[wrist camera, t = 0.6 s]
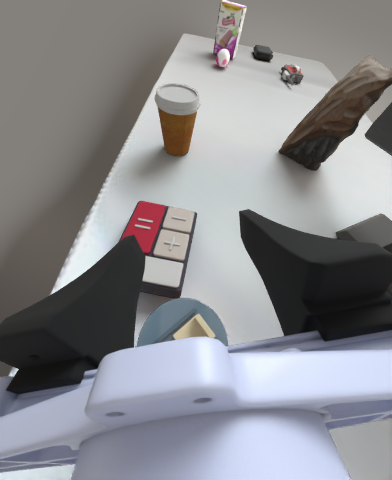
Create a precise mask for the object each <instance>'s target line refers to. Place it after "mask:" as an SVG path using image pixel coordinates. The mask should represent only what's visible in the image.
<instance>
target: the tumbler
mask: <svg viewBox="0 0 392 480" xmlns="http://www.w3.org/2000/svg"><path fill="white" fill-rule="evenodd" d="M198 314H200V316H201V317H202V318H203V320H204V321H205V322H206V324H207V325H208V326H209V328H210V329H211V330H212V332H213V333H214V334H215V337H214V339H218V340H219V341H221V342H222V343H223V344H224V345H225V346H228V340H227V335H226V331H225V329H224V326H223V324H222V322H221V320H220V318H219V317H218V316H217V314H216V313H215V312H214V311H213V310H212V309H211V308H210V307H209V306H207V305H206V304H204V303H202V302H200V301H198V300H195V299H191V298H178V299H173V300H170V301H168V302H166V303H164V304H162V305H161V306H159V307H158V308H157V309H155V310H154V311H153V312H152V314H151V315H150V316H149V317H148V319H147V320H146V322H145V323H144V325H143V327H142V329H141V332H140V335H139V338H138V343H137V347H140V346H145V345H151V344H156V343H162V342H167V341H173V340H175V338H174V337H173V335H174V334H175V333H176V332H177V331H178V330H179V329H181V328H182V327H183V326H184V325H185V324H186V323H187V322H189V321H190V320H191V319H192V318H193V317H194V316H195V315H198Z"/></svg>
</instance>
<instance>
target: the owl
mask: <svg viewBox="0 0 392 480" xmlns="http://www.w3.org/2000/svg"><path fill="white" fill-rule="evenodd" d="M391 84H392V69H386V68H385V67H384V66H381V65H379V64H378V63H377V62H376V59H375V58H374V57H372V56H371V55H368V56H366V57H365V58H364V59H363V60H362V61H361V62H360V63H359V64H358V65H356V66H355V67H354V68H353V69H352V70H351V71H350V72H349V73H348V74H347V75H346V76H345V77H344V78H343V79H341V80H340V81H339V82H338V83H337V84H335V85H334V86H333V87H332V88H331V89H330V91H329V92H328V93H327V94H326V95H325V96H324V97H323V99H322V100H321V101H320V102H319V103H318V104H317V105H316V106H315V107H314V108H313V109H312V110H311V111H310V112H309V113H308V114H307V115H306V116H305V117H304V119H303V120H302V121H301V122H300V123H299V124H298V125H297V127H296V128H295V129H294V131H293V132H292V133H291V134H290V135H289V136H288V138H287V139H286V141H285V142H284V143H283V145H282V147H281V149H280V150H279V151H278V152H280V153H282V154H284V155H286V156H287V157H289V158H291V159H293V160H295V161H296V162H297V163H299V164H302V165H304V166H305V167H306V168H308V169H311V170H317V169H318V168H319V167H320V165H321V163H322V162H324V161H325V160H326V159H327V158H328V157H329V156H330V155H332V154H333V153H334V152H335V150H336V149H337V147H338V145H339V144H340V143H341V142H342V141H343V140H344V139H345V138H346V137H348V136H350V135H352V134H353V133H354V132H355V130H356V128H357V127H358V123H359V120H360V119H361V118H362V116H363V115H364V114H365V113H366V112H367V111H368V110H369V108H370V107H371V106H372V105H373V104H374V103H375V102H376V101H377V100H378V99H379V98H380V96H381V94H382V93H383V92H384V90H385V89H386V88H387V87H388V86H390V85H391Z"/></svg>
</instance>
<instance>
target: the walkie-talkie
mask: <svg viewBox="0 0 392 480" xmlns="http://www.w3.org/2000/svg"><path fill="white" fill-rule="evenodd" d="M281 70H282V74H283V75H282V77H283V79H284V80H287V81H288V82H289V83H291V85H293V82H295V83H300V82H301V80H302V78H303V74H302V73H301V72H300V71H301V69H300V68H299V66H296V65H293V64H291V65H285V66H284V67H282V69H281Z"/></svg>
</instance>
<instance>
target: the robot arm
mask: <svg viewBox="0 0 392 480" xmlns="http://www.w3.org/2000/svg"><path fill="white" fill-rule="evenodd" d="M239 216H240V231H241V238H242V241H243V244H244V246H245V248H246V250H247V252H248V254H249V256H250V258H251V259H252V261H253V263H254V265H255V266H256V268H257V270H258V272H259V274H260V276H261V278H262V280H263V282H264V284H265V287H266V289H267V292H268V294H269V296H270V299H271V301H272V304H273V306H274V309H275V312H276V314H277V317H278V320H279V322H280V325H281V328H282V331H283V333H284V336H283V337H277V338H272V339H266V340H260V341H255V342H249V343H243V344H237V345H232V346H225V345H224V344H223V343H222V342H221V341H219V340H218V339H214V338H210V337H189V338H184V339H178V340H173V341H167V342H162V343H156V344H151V345H145V346H140V347H134V331H135V319H136V310H137V302H138V297H139V293H140V288H141V284H142V280H143V275H144V270H145V259H146V256H145V255H144V253H143V251H142V249H141V247H140V245H139V243H138V241H137V239H136V237H135V235H131V236H126V237H125V238H123V239H122V240H121V241H120V242H119V243H118V244H116V245H115V246H114V247H113V248H112V249H111V250H110V251H109V252H108V253H107V254H106V255H105V256H104V257H102V258H101V259H100V260H99V261H98V262H97V263H96V264H95V265H93V266H92V267H91V268H90V269H88V270H87V271H86V272H85V273H83V274H82V275H81V276H79V277H78V278H76V279H75V280H74V281H72V282H71V283H69V284H67V285H66V286H64V287H63V288H61V289H60V290H58V291H57V292H55V293H53V294H52V295H50V296H48V297H46V298H45V299H43V300H41V301H40V302H37V303H36V304H34V305H32V306H30V307H28V308H26V309H24V310H22V311H20V312H18V313H16V314H14V315H12V316H10V317H8V318H6V319H5V320H4V321H3V322H2V323H1V324H0V361H2V362H4V363H6V364H8V365H11V366H13V367H15V368H18V369H19V370H18V371H17V373H16V375H15V376H14V377H10V376H6V377H0V473H2V472H10V471H18V470H26V469H35V468H44V467H53V466H63V465H72V464H75V468H74V471H73V474H72V478H71V480H351V478H350V476H349V473H348V471H347V469H346V467H345V465H344V463H343V461H342V459H341V456H340V454H339V452H338V450H337V448H336V446H335V444H334V442H333V439H332V437H331V435H330V433H329V431H328V430H329V429H335V428H340V427H346V426H351V425H357V424H363V423H368V422H374V421H380V420H385V419H391V418H392V302H391V301H392V295H391V294H390V293H389V292H388V291H386V290H387V288H388V287H389V286H390V284H391V283H392V253H390V252H389V251H387V250H386V249H384V248H382V247H381V246H379V245H378V244H376V243H366V242H356V241H347V240H340V239H333V238H327V237H322V236H317V235H313V234H309V233H305V232H301V231H298V230H295V229H292V228H289V227H286V226H283V225H281V224H278V223H276V222H274V221H271V220H269V219H267V218H265V217H263V216H261V215H259V214H257V213H255V212H253V211H251V210H249V209H248V210H243V211H239Z"/></svg>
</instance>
